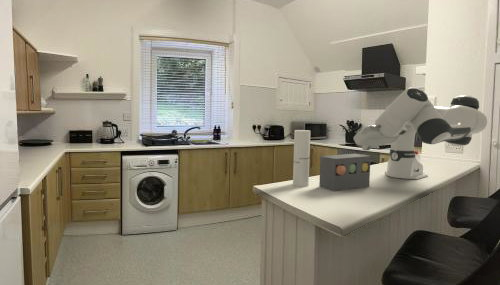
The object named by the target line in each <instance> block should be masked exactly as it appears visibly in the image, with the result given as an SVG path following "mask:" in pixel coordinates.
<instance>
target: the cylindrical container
mask: <svg viewBox="0 0 500 285" xmlns="http://www.w3.org/2000/svg"><path fill="white" fill-rule="evenodd" d="M293 134H294V135H293V136H294V138H293V140H294V141H293V165H292V166H293V167H292V168H293V171H292V185H293V186H294V187H302V188H303V187H305V188H307V187H309V183H310V153H311V130H307V129H306V130H305V129H295V130H294V132H293Z"/></svg>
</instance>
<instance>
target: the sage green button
mask: <svg viewBox="0 0 500 285" xmlns="http://www.w3.org/2000/svg"><path fill="white" fill-rule="evenodd" d="M355 170H356V166H355V164H350V165H349V172H350V173H354V172H355Z"/></svg>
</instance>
